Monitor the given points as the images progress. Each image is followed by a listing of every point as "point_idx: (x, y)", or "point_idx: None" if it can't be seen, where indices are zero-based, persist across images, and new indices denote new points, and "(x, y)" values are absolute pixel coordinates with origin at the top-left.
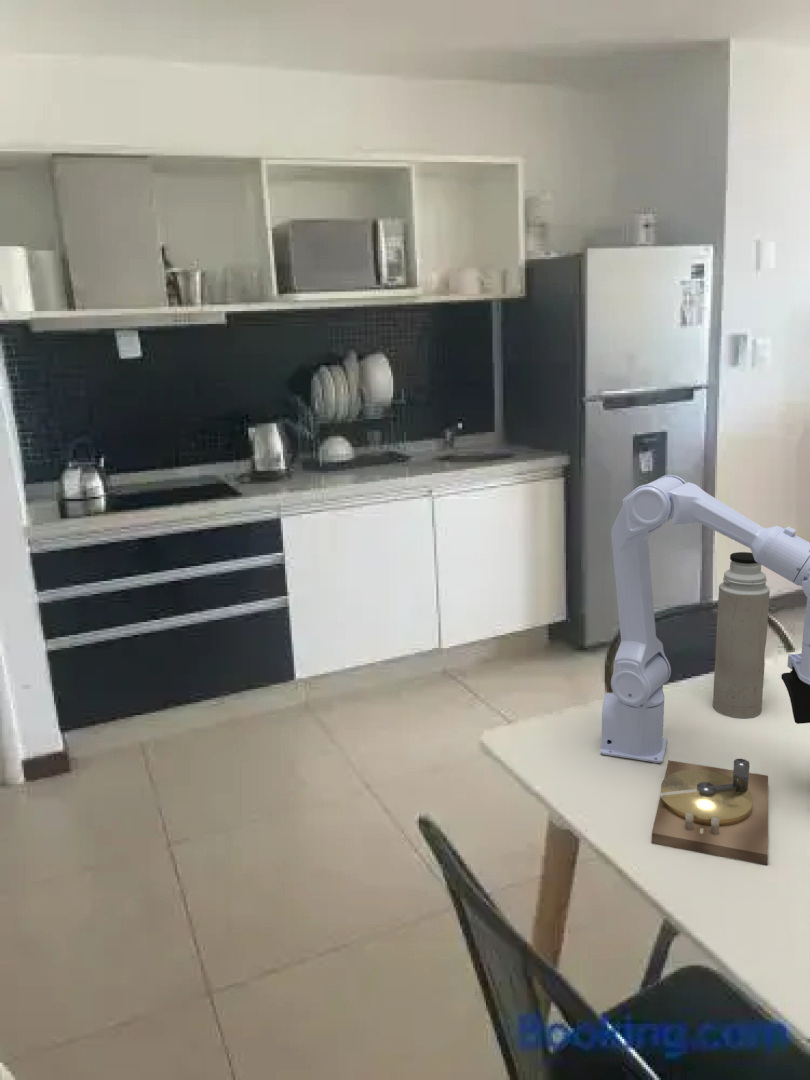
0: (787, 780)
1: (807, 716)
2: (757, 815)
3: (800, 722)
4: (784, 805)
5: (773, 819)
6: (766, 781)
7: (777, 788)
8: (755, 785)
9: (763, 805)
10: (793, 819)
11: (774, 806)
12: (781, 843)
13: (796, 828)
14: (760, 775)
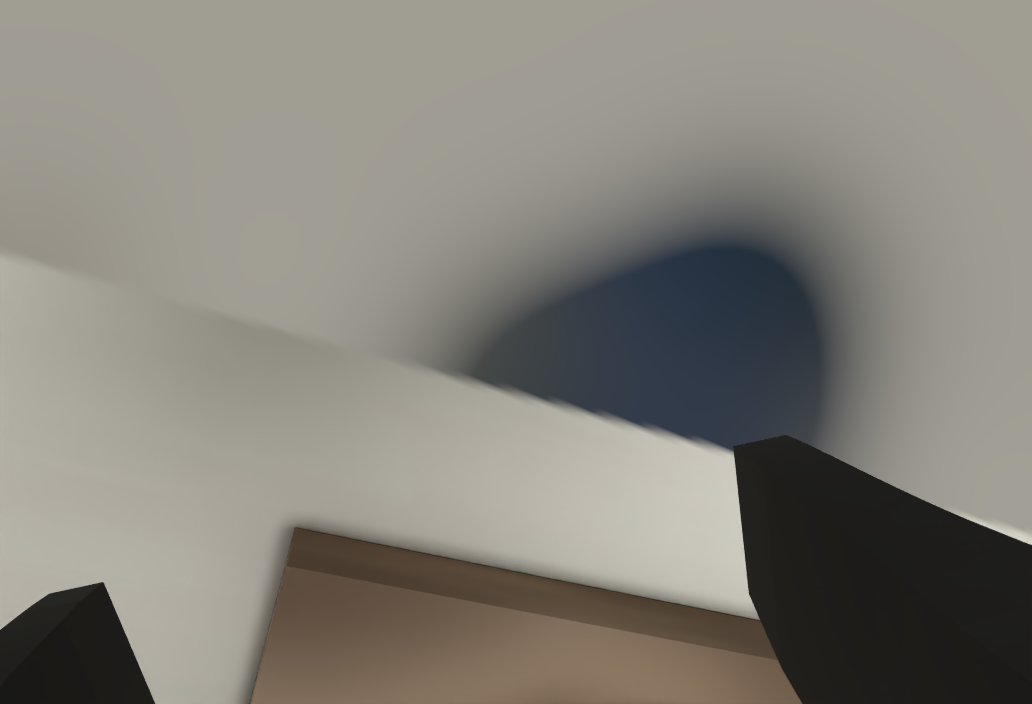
0: (216, 397)
1: (87, 685)
2: (744, 700)
3: (146, 701)
4: (529, 488)
5: (672, 574)
6: (368, 590)
7: (331, 480)
8: (424, 657)
9: (647, 656)
10: (675, 478)
11: (541, 541)
12: None
13: None
14: (289, 607)
